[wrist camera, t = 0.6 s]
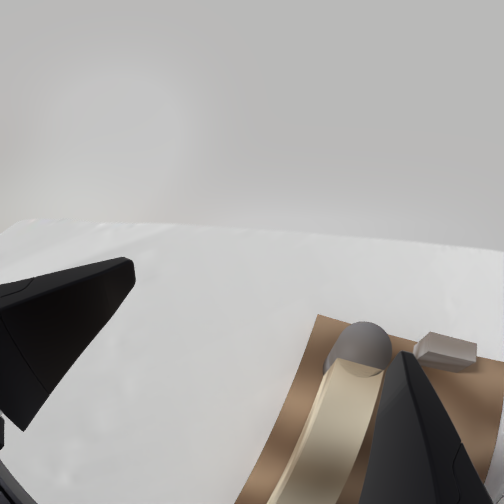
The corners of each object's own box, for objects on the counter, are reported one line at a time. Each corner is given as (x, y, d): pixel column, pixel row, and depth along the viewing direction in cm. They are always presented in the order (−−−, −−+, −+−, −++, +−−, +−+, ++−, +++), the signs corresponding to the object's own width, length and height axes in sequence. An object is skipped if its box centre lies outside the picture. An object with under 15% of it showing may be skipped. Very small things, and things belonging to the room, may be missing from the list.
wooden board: (438, 558, 5) (462, 569, 2) (215, 535, 11) (201, 554, 8) (497, 367, 17) (524, 350, 13) (315, 321, 23) (323, 296, 19)
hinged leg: (330, 342, 20) (344, 315, 16) (372, 354, 19) (396, 329, 15) (249, 524, 11) (241, 549, 7) (297, 537, 10) (303, 564, 6)
